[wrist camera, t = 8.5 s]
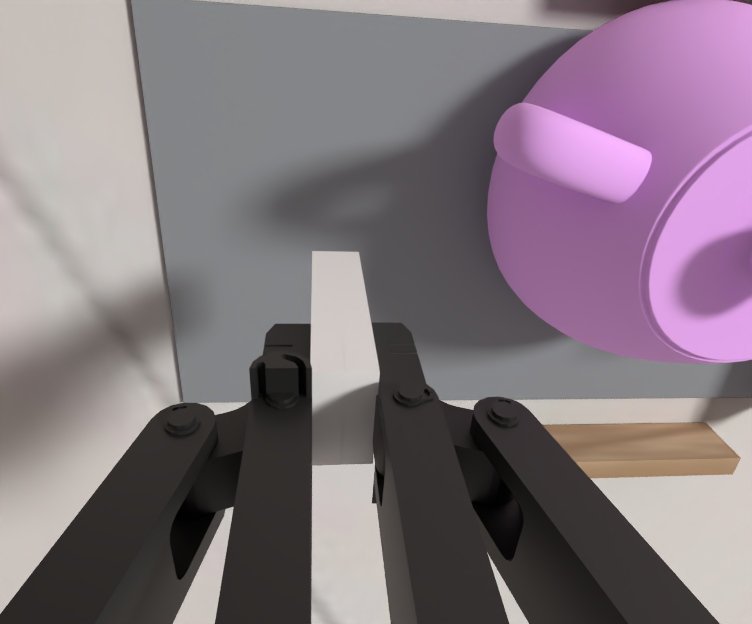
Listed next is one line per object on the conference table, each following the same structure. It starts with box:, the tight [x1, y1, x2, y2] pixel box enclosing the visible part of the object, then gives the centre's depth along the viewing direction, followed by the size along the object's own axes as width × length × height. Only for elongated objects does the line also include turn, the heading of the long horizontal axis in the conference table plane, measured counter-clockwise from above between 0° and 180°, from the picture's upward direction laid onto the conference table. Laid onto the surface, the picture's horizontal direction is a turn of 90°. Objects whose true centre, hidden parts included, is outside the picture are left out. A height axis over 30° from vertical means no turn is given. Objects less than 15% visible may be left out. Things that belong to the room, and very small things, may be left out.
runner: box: [131, 0, 752, 403], centre depth 25 cm, size 18×34×1 cm, turn 87°
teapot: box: [487, 0, 752, 364], centre depth 19 cm, size 14×20×11 cm
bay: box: [543, 423, 741, 478], centre depth 25 cm, size 24×16×4 cm, turn 177°
